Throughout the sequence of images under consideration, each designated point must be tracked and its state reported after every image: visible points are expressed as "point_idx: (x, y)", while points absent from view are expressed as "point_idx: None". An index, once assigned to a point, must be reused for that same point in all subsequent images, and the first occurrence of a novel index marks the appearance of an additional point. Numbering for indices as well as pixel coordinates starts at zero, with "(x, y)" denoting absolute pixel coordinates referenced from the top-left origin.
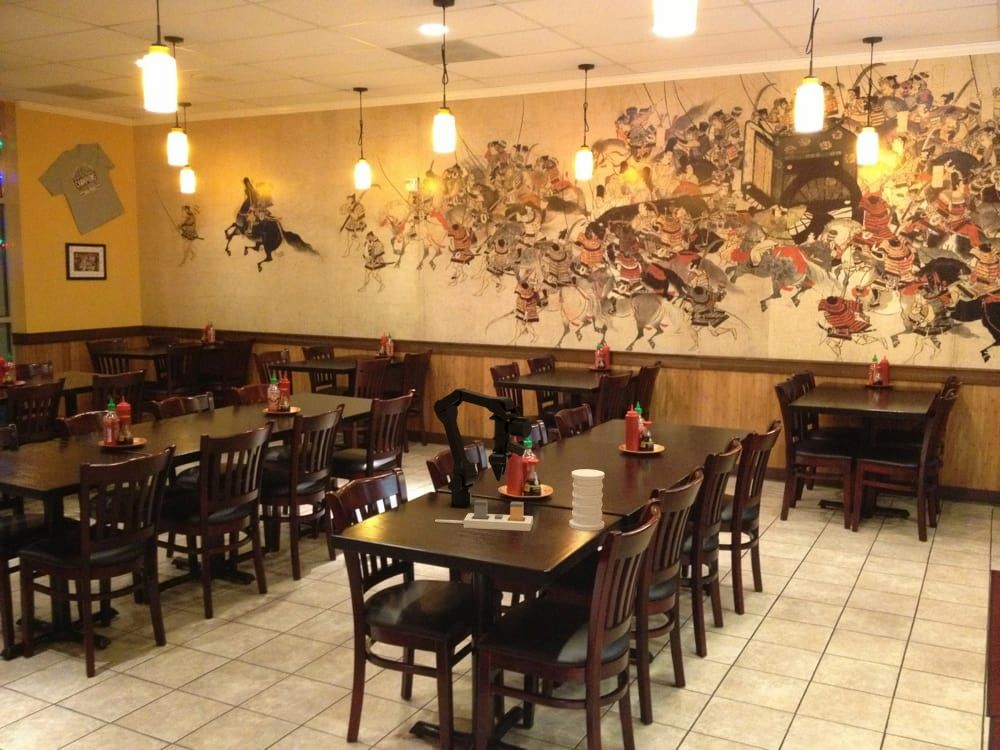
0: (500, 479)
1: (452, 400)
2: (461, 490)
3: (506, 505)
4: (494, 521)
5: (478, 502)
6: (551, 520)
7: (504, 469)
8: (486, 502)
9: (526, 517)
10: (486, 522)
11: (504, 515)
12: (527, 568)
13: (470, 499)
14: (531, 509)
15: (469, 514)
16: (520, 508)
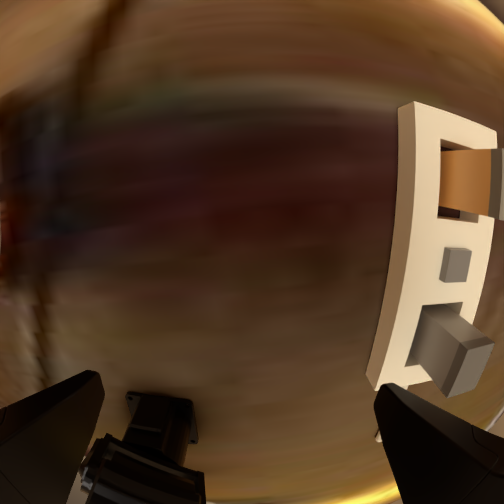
0: (389, 388)
1: None
2: (178, 465)
3: (103, 255)
4: (482, 273)
5: (481, 373)
6: (333, 29)
7: (69, 406)
8: (489, 343)
9: (438, 134)
10: (476, 300)
11: (419, 242)
12: None
13: (157, 410)
14: (148, 123)
15: (394, 381)
16: None
